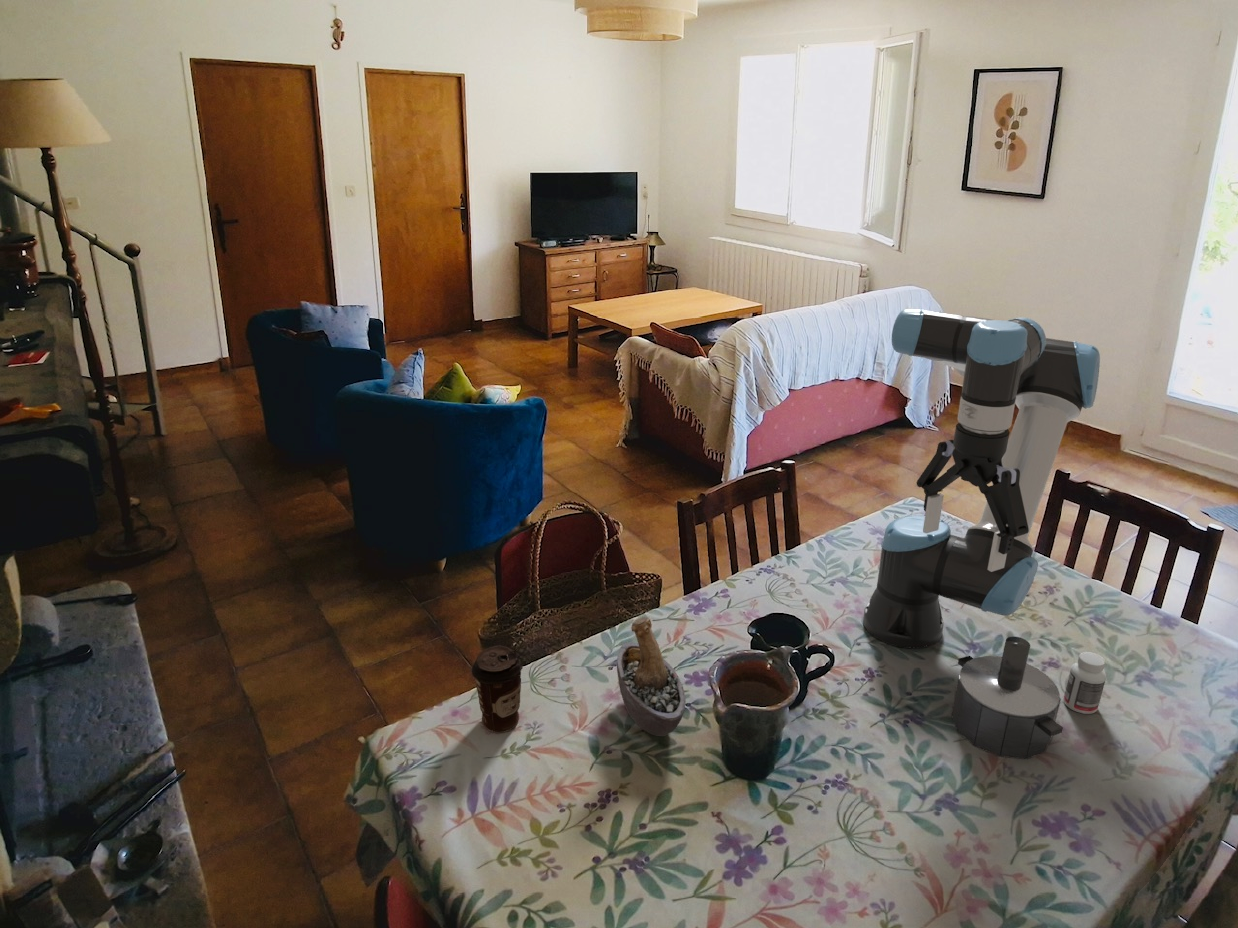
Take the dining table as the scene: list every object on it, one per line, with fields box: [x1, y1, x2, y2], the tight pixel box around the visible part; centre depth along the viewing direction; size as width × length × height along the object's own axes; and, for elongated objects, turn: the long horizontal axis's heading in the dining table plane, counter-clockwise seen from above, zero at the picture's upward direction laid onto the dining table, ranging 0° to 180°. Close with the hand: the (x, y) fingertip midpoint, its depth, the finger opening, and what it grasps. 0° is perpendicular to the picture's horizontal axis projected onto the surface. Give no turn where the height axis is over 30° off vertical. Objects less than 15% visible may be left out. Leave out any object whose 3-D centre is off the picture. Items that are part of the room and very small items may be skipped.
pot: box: [951, 655, 1064, 760], centre depth 140 cm, size 20×15×8 cm
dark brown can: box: [471, 644, 524, 734], centre depth 141 cm, size 9×8×13 cm
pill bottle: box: [1063, 651, 1107, 715], centre depth 145 cm, size 5×5×10 cm
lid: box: [959, 636, 1061, 718], centre depth 137 cm, size 15×15×10 cm
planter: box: [616, 616, 687, 737], centre depth 140 cm, size 15×17×20 cm
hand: (961, 549), depth 135 cm, fingers open, 13 cm apart
